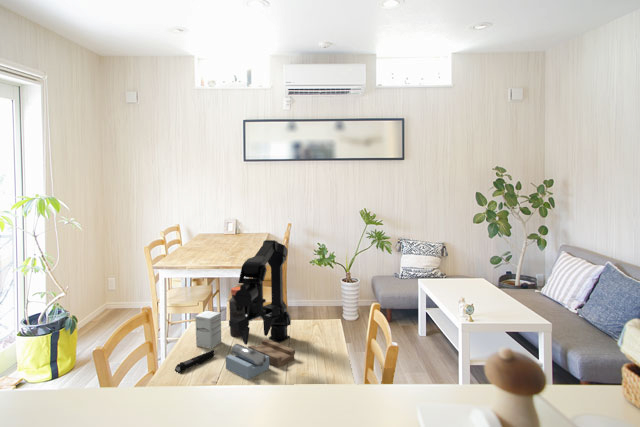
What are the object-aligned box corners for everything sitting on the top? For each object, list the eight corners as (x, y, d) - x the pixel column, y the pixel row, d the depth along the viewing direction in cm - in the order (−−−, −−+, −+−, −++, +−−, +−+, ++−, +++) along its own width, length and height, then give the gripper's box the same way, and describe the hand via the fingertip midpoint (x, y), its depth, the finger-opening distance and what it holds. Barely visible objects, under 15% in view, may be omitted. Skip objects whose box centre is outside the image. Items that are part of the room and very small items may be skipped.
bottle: (227, 336, 171) (226, 290, 169) (234, 330, 177) (233, 285, 175) (242, 337, 169) (241, 291, 167) (248, 331, 176) (247, 286, 174)
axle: (230, 355, 146) (232, 344, 146) (239, 354, 149) (240, 343, 149) (256, 367, 137) (258, 355, 137) (265, 365, 140) (266, 353, 140)
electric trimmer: (217, 359, 151) (216, 350, 151) (180, 374, 139) (179, 366, 139) (210, 356, 154) (210, 348, 154) (174, 371, 142) (173, 363, 141)
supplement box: (195, 346, 161) (194, 315, 160) (207, 339, 168) (206, 309, 167) (210, 349, 159) (209, 318, 157) (222, 342, 165) (221, 312, 164)
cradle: (226, 368, 143) (225, 356, 143) (247, 358, 150) (246, 347, 150) (248, 379, 135) (247, 366, 135) (269, 368, 143) (269, 356, 142)
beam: (248, 355, 153) (248, 346, 153) (265, 347, 160) (265, 338, 160) (277, 368, 143) (277, 358, 143) (295, 359, 150) (295, 350, 150)
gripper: (259, 286, 152) (260, 325, 154) (218, 299, 138) (219, 342, 139) (280, 291, 145) (281, 333, 147) (239, 306, 130) (240, 352, 132)
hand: (256, 339), depth 141 cm, fingers open, 9 cm apart
